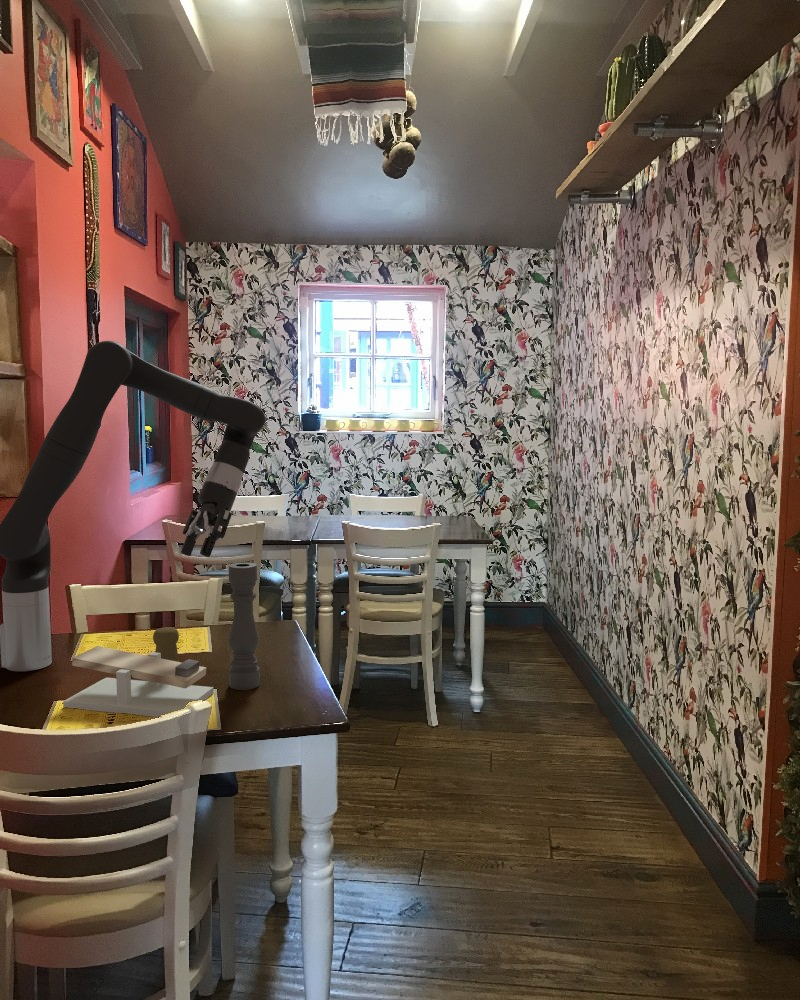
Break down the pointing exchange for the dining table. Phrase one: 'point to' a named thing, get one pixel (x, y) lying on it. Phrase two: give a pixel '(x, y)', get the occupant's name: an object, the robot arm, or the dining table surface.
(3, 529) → the robot arm
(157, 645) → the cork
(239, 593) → the candle holder
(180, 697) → the beam stand
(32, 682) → the dining table surface
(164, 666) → the beam
